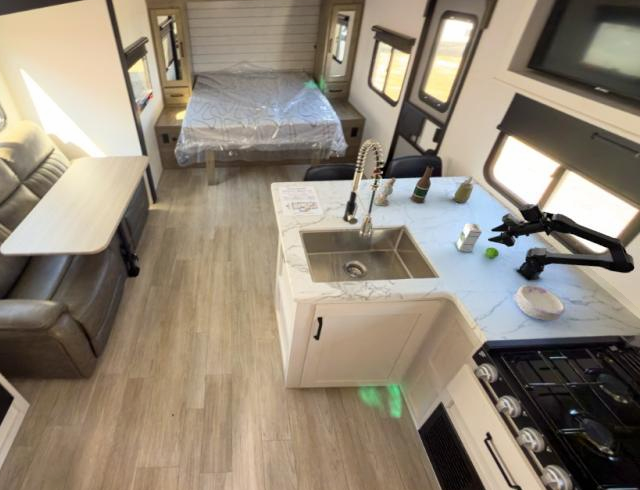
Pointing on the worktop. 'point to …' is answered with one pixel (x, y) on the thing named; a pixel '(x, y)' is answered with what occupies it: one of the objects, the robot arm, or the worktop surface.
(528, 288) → the paper bowls
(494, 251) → the lime
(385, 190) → the figurine
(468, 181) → the squeeze bottle
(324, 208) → the worktop surface
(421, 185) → the beer bottle
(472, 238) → the syrup box
